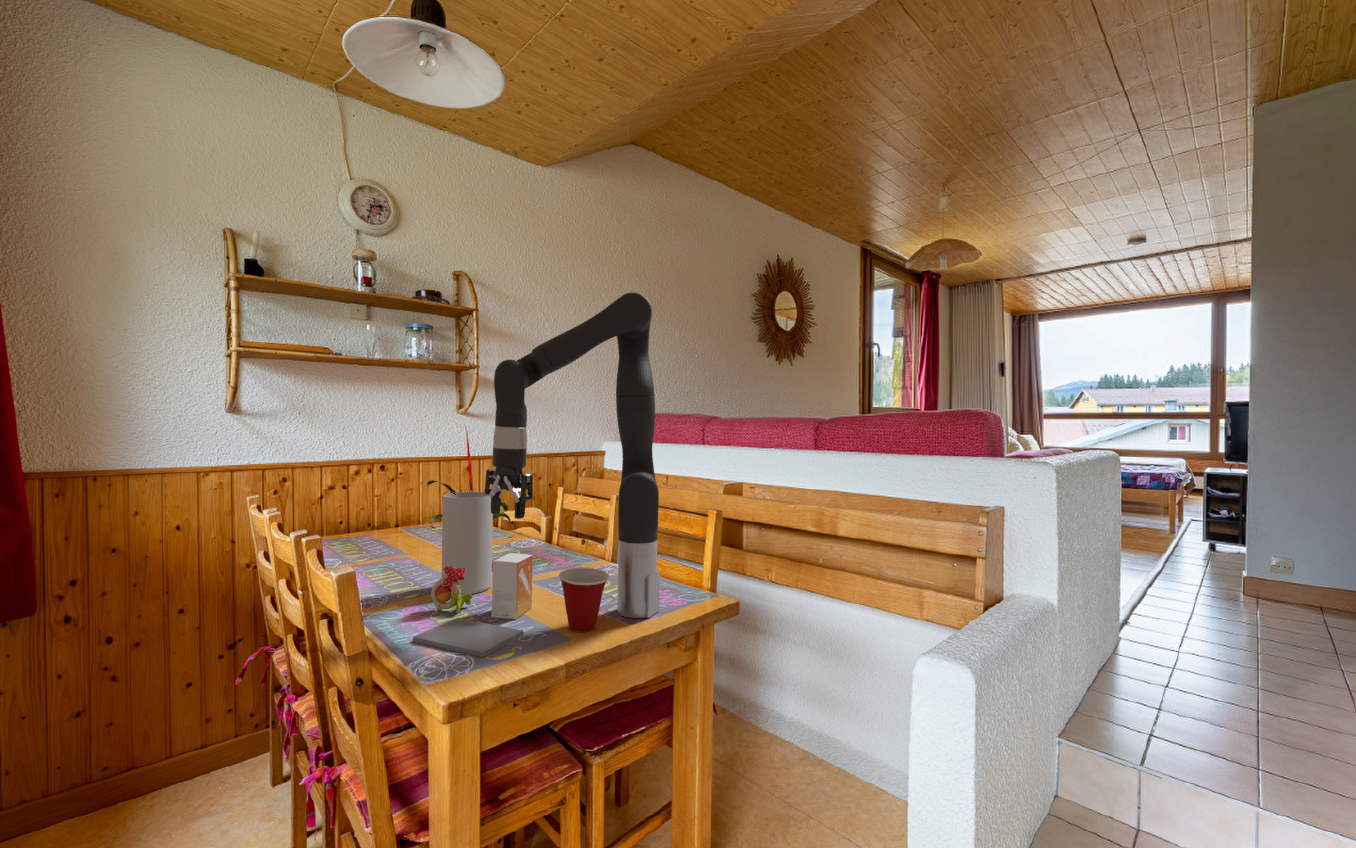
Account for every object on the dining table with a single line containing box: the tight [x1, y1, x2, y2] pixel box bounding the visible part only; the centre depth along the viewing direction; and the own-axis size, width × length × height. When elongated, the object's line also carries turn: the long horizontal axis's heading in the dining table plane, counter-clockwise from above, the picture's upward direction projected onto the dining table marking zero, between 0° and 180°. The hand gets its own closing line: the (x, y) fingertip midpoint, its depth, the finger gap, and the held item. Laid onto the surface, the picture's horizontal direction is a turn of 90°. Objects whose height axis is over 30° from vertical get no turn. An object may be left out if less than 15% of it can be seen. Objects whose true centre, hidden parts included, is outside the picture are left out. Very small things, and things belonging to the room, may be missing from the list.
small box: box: [491, 552, 534, 620], centre depth 130 cm, size 8×6×13 cm
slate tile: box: [412, 617, 525, 658], centre depth 114 cm, size 18×12×1 cm, turn 68°
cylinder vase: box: [441, 491, 494, 595], centre depth 148 cm, size 12×12×25 cm
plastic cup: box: [558, 566, 610, 633], centre depth 121 cm, size 11×11×12 cm
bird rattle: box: [430, 566, 473, 614], centre depth 131 cm, size 6×11×9 cm
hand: (507, 516), depth 129 cm, fingers open, 8 cm apart
